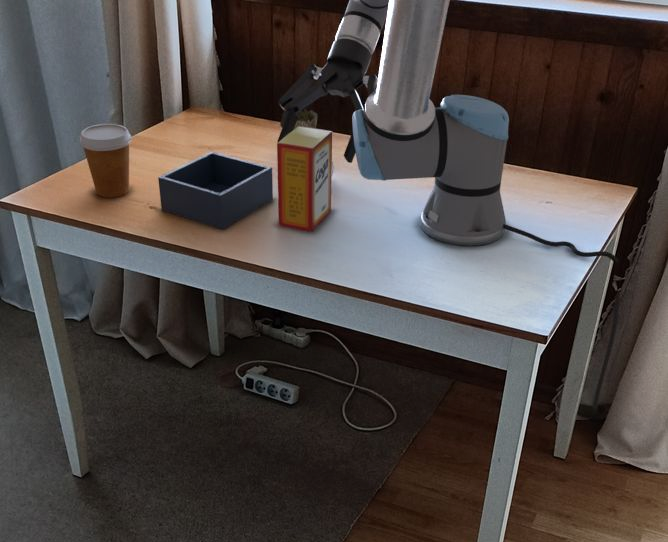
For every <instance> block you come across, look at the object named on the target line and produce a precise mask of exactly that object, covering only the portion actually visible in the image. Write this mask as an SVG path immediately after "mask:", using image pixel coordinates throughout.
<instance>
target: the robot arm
mask: <svg viewBox="0 0 668 542" xmlns="http://www.w3.org/2000/svg"><path fill="white" fill-rule="evenodd" d="M450 1H451V0H349V1H348V3H347V7H346V10H345V13H344V15H343V17H342V20H341V22H340V24H339V26H338V30H337V32H336V34H335V36H334V37H335V39H334V41H333V43H332V45H331V48H330V50H329V53H328V56H327V60H326V64H325V65H324V66H323V67H320V66H316V65H315V63H314V62H310V63H309V64H308V66H307V68H306V70H305V71H304V73H302V75H301V76H299V78H298V79H297V80H296V81H295V83H293V84H292V86H290V88H289V89H288V90H287V91H285V93H284V94H283V95H282V96H281V97H280V98H279V99H278V101H277V103H278V105H279V106H280V108H281V109H282V110H283V114H284V115H283V114H282V118H281V120H280V123H279V126H280V127H281V130H280V133H279V136H278V138H277V143H278V142H279V141H280V140H282V139H283V138H284V137H285V136H286V135H288V134H289V133H291V132H292V131H293V130H294V127H295V124H296V122H297V119H298V117H297V115H296V113H298V112H299V111H301V110H302V111H303V110H305V109H306V108H307V107H308V106H310V105H311V104H312V103H314V102H315V101H317V100H318V99H319V98H321V97H325V96H326V95H329V94H330V95H331V96H340V97H341V98H346V97H350V100H351V102H352V104H353V107H354V109H355V111H354V112H352V113H353V114H352V118H351V119H352V121H351V122H352V123H351V124H352V132H351V133H350V134H351V135H350V137H349V139H348V142H347V145H346V148H345V151H344V153H343V157H344V159H345V160H346V162H347V163H350V164H352V163H353V161H354V158H356V163H357V167H358V171H359V174H360V175H361V177H362V178H364V179H366V180H370V181H390V180H391V181H393V180H409V179H427V178H429V179H431V178H434V184H433V188H432V190H431V192H430V194H429V197H428V199H427V201H426V203H425V206H424V208H423V210H422V212H421V219H420V227H421V230H422V231H423V232H424V233H425V234H426V235H427V236H429V237H430V238H432V239H435V240H437V241H440V242H442V243H446V244H450V245H455V246H467V247H468V246H469V247H470V246H471V247H472V246H482V245H483V246H484V245H488V244H491V243H494V242H496V241H498V240H500V239H501V238H502V237H503V236H504V234H505V232H506V231H509V232H512V233H515V234H517V235H520V236H522V237H526V238H529V239H530V240H532V241H535V242H538V243H539V244H542V245H545V246H549V247H567V248H569V249H570V250H571V251H572V253H573V254H575V255H576V256H578V257H581V258H582V257H583V258H593V257H594V258H595V257H606V258H608V259H609V260H611V261H612V262H614V263H619V262H620V260H619V259H618V258H617V257H616V256H615V255H614V254H613V253H612V252H608V251H605V250H604V251H603V250H599V251H588V252H586V251H580V250H578V249H577V247H576V246H575V245H574V244H573V243H572V242H569V241H564V240H563V241H551V240H548V239H544V238H541V237H539V236H537V235H535V234H533V233H530V232H528V231H525V230H522V229H519V228H516V227H514V226H511V225H509V224H506V223H507V221H506V213H505V210H504V204H503V199H502V195H501V186H502V180H503V179H502V177H503V172H504V171H503V170H504V163H505V159H506V158H505V156H506V150H507V143H508V140H509V123H510V118H509V117H510V116H509V114H508V112H507V111H506V109H505V108H504V107H503V106H502V105H500V104H498V103H496V102H494V101H491V100H489V99H486V98H482V97H478V96H474V95H466V94H451V95H450V96H449V95H446V96H445V97H444V98H442V101H441V102H440V107H435V105H434V103H433V101H432V100H431V99H430V97H431V93H432V88H433V82H434V78H435V73H436V68H437V63H438V59H439V53H440V49H441V44H442V40H443V36H444V30H445V25H446V20H447V15H448V11H449V6H450ZM384 25H385V27H384ZM383 28H385V29H384V34H383V35H384V36H383V42H382V50H381V55H380V56H381V57H380V63H379V70H378V77H377V75H376V74H375V73H374V72H372V73H371V72H370V74H369V75H366V73H367V71H368V68H369V66H370V63H371V61H372V55H373V54H374V52H375V49H376V46H377V43H378V41H379V38H380V35H381V33H382V30H383ZM319 77H320V78H319ZM363 85H365V87H366V90H367V98H366V101H365V104H364V106H363V104H362V101H361V98H360V96H359V93H358V92H357V90H358V89H360V87H361V86H363ZM323 86H324V87H323ZM505 230H506V231H505ZM620 301H621V289H619V290H618V291H617V293H616V294H615V296H614V306H613V307H614V309H613V317H612V322H611V323H612V324H611V330H610V334H609V340H608V343H607V348H606V352H605V356H604V360H603V363H602V366H601V370H600V374H599V377H598V381H597V386H596V389H595V393H594V398H593V403H592V409H593V410H597V408H598V404H599V399H600V395H601V390H602V387H603V383H604V379H605V375H606V371H607V368H608V365H609V361H610V358H611V353H612V350H613V346H614V341H615V336H616V332H617V327H618V326H617V325H618V320H619V313H620Z"/></svg>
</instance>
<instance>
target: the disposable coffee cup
mask: <svg viewBox="0 0 668 542" xmlns="http://www.w3.org/2000/svg"><path fill="white" fill-rule="evenodd" d="M131 140H132V135H131V133H130V132H129V130H128V128H127V127H126V126H124V125H121V124H117V123H100V124H99V123H98V124H94V125H90V126H87V127H85V128H83V129H82V130H81V132H80V136H79V142H80V144H81V146H82V147H83V148H82V149H83V152H84V154H85V158H86V161H87V165H88V168H89V172H90V176H91V179H92V182H93V186H94V189H95V193H96V194H97V195H98V196H100V197H102V198H103V197H104V198H117V197H122V196H124V195H126V194H128V193H129V192H130V143H131Z"/></svg>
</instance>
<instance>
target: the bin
mask: <svg viewBox="0 0 668 542" xmlns="http://www.w3.org/2000/svg"><path fill="white" fill-rule="evenodd" d="M157 179H158V190H159V198H160V207H161V208H160V209H161V211H163V212H166V213H169V214H173V215H175V216H179V217H182V218H185V219H188V220H192V221H195V222H197V223H201V224H205V225H207V226H210V227H214V228H215V229H216V228H217V229H220V230H224V229H227V228H228V227H230V226H232V225H233V224H235V223H236V222H238V221H240V220H242V219H243V218H245V217H247V216H248V215H250V214H251V213H253V212H255V211H257V210H258V209H260V208H261V207H264V206H265V205H267V204H268V203H270V202H272V201H273V200H274V191H273V189H274V187H273V167H271V166H267V165H264V164H260V163H257V162H253V161H249V160H245V159H241V158H238V157H235V156H230V155H226V154H223V153H219V152H215V151H210V152H207V153H205V154H202V155H201V156H199V157H196V158H195V159H193V160H191V161H189V162H187V163H185V164H183V165H180V166H179V167H177V168H174V169H172V170H170V171H168V172H166V173H164V174H161V175H159V176H158V177H157Z"/></svg>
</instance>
